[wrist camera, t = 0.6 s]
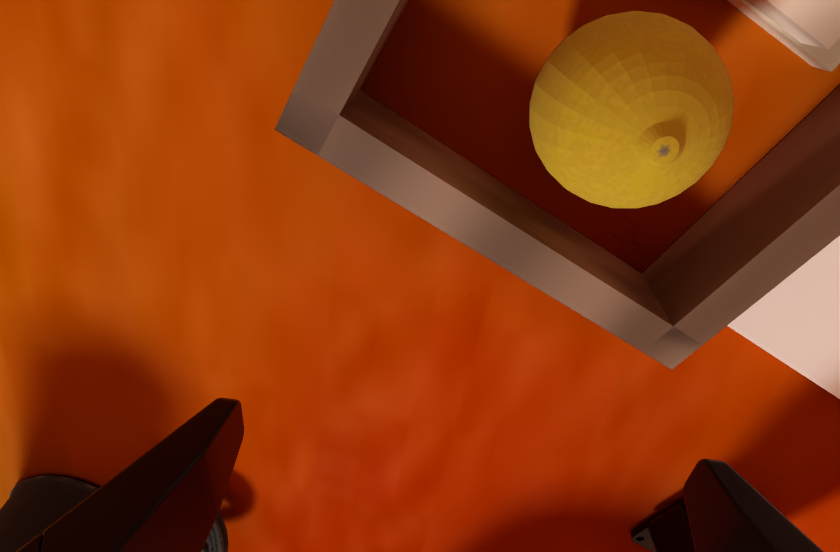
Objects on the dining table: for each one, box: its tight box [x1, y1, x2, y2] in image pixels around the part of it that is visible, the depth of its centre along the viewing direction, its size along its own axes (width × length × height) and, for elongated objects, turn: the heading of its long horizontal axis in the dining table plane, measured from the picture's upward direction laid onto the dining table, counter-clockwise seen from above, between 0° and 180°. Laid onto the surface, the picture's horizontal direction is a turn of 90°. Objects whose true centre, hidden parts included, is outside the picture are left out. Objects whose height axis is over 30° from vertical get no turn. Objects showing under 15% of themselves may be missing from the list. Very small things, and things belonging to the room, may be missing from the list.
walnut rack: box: [275, 0, 840, 369], centre depth 16 cm, size 18×18×4 cm
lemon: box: [529, 11, 734, 208], centre depth 15 cm, size 6×6×8 cm
